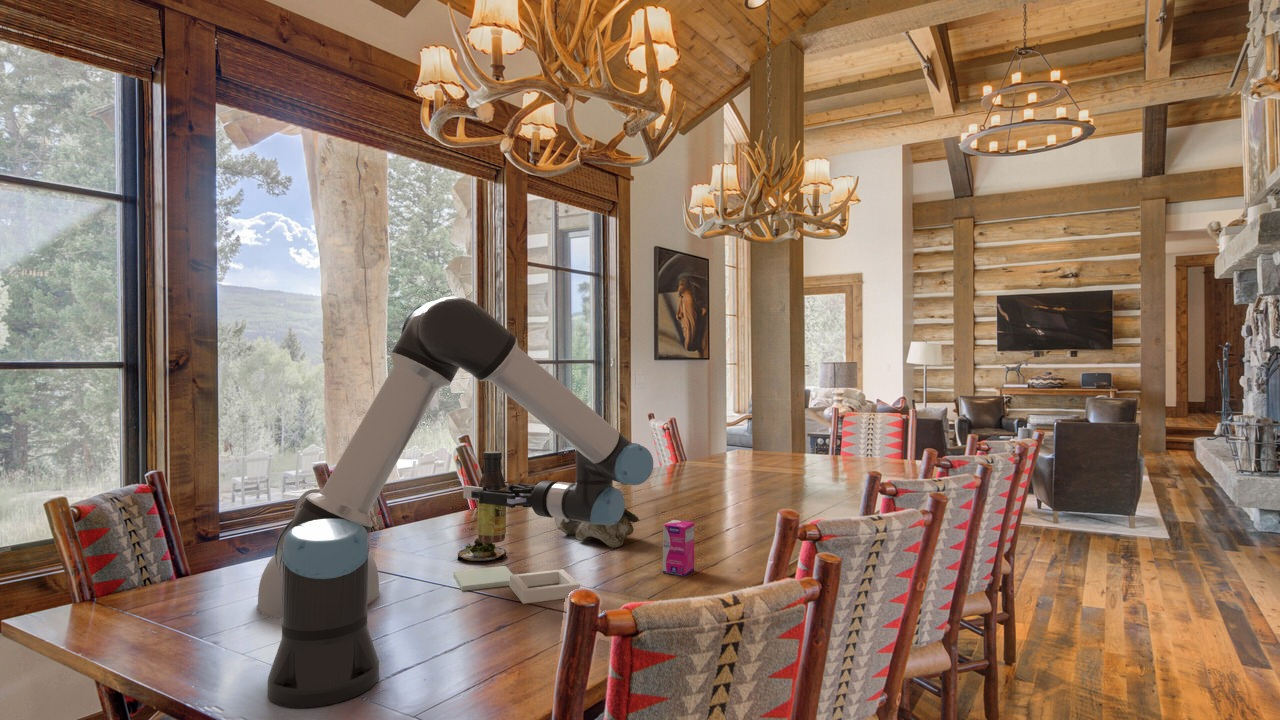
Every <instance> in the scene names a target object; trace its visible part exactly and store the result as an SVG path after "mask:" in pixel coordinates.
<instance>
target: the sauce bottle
mask: <svg viewBox="0 0 1280 720" xmlns="http://www.w3.org/2000/svg"><path fill="white" fill-rule="evenodd" d="M482 456H483V457H482V458H483V460H484V461H483V474H482V476H481V477H480V478H479V482H478V487H482V488H483V486H487V490H506V485H505V484H506V482H505V479H504V475H503V474H502V467H501V465H502V464H501V463H502V457H503V455H502V451H499V450H498V451H497V450H496V451H495V450H494V451H484V452H483V454H482ZM506 533H507V506H500V505H491V504H480V503H479V500H477V536H478V541H479V542H481V543H492V544H496V543H501V542H504V541H505V538H506Z"/></svg>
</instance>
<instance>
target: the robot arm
mask: <svg viewBox="0 0 1280 720" xmlns="http://www.w3.org/2000/svg"><path fill="white" fill-rule="evenodd" d="M518 344H519V343H518V338H517V337H516V335H514V334H513V333H512V332H511V331H509V330H508V329H507V328H506V327H505V326H504V325H502V323H501V322H499V321H498V320H497V319H496V318H494V317H493V316H492V315H491V314H490V313H488V312H487V311H486V310H485V309H484V308H483V307H481V306H480V305H478V304H477V303H476V302H473V301H471V300H469V299H468V298H464V297H459V296H446V297H445V296H444V297H442V298H439V299H437V300H434V301H433V300H432V301H428V302H425V303H423V304H421V305H418V306H417V307H416V308H414V309H413V310H412V311H411V312H410V313H409V314H408V316H407V317H406V318H405V321H404V322H403V325H402V327H401V335H400V337H399V338H398V340H397V342H396V343H395V345H394V348H393V349H392V351H391V353H390V358H391V361H392V367H391V368H392V369H391V370H390V373H389V374H388V375H387V377H386V379H385V380H384V382H383V384H382V386H381V387H380V389H379V391H378V392H377V395H375V398H374V399H373V401H372V403H371V405H370V406H369V409H368V410H367V412H366V413H365V415H364V417H363V418H362V420H361V422H360V423H359V426H357V429H356V430H355V432H354V433H353V436H352V437H351V440H350V441H349V443H348V444H347V446H346V447H345V450H344V451H343V453H342V455H341V456H340V458H339V460H338V461H337V464H336V465H335V466H334V468H333V470H332V472H331V474H330V475H329V477H328V479H327V481H326V483H325V484H324V486H323V487H322V488H321V489H322V490H321V491H320V492H318V493H311V494H309V495H307V496H306V497H305V499H304V500H303V502H302V504H301V505H300V509H299V512H298V513H297V515H296V517H295V518H294V517H293V519H292V520H290V521H289V522H288V523H287V524H286V525H285V526H284V528H282V530H281V532H280V533H279V535H278V537H277V540H276V544H275V549H274V550H275V551H274V555H275V558H276V564H277V566H278V570H279V572H280V575H281V579H282V618H281V619H282V620H281V640H280V643H279V645H278V649H277V651H276V654H275V657H274V660H273V662H272V664H271V669H270V671H269V675H268V678H267V697H268V699H269V700H270V701H271V702H272V703H274V704H276V705H279V706H282V707H285V708H286V707H287V708H316V707H322V706H328V705H334V704H337V703H341V702H343V701H347V700H350V699H352V698H355V697H357V696H360V695H361V694H363V693H365V692H367V691H369V690H370V689H371V688H373V687H374V686H375V685H376V683H377V682H378V680H379V678H380V661H379V656H378V655H377V651H376V649H375V645H374V643H373V640H372V637H371V633H370V631H369V628H368V627H369V626H368V604H367V595H368V555H369V552H370V543H369V538H368V537H369V536H368V534H369V533H370V531H371V529H372V526H373V521H372V519H371V518H372V517H371V514H370V513H371V510H372V508H373V506H374V505H375V503H376V500H377V499H378V497H379V496H380V493H381V492H382V490H383V488H384V486H385V484H386V483H387V481H388V479H389V477H390V476H391V474H392V472H393V470H394V469H395V467H396V465H397V463H398V461H399V459H400V457H401V456H402V454H403V452H404V451H405V449H406V447H407V445H408V443H409V442H410V440H411V438H412V436H413V434H414V432H415V431H416V429H417V427H418V426H419V423H420V422H421V420H422V419H423V416H424V414H425V413H426V411H427V409H428V407H429V406H430V403H431V402H432V400H433V398H434V397H435V394H436V393H437V391H438V390H439V389H441V388H445V387H448V386H450V385H451V383H452V381H453V379H454V378H455V376H456V374H457V373H458V371H459V369H460V368H461V369H462V370H464V371H466V372H467V373H469V374H470V375H472V376H473V377H474V378H476V380H478V381H479V382H487V381H488V382H490V383H492V384H493V385H494V386H496V387H497V388H498V389H499V390H501V391H502V392H503V393H504V394H506V395H507V396H508V397H509V398H511V400H513V401H514V402H516V404H518V406H521V407H522V408H523V409H524V410H525V411H527V412H529V414H530V415H532V416H533V417H534V418H536V419H537V420H538V421H540V423H542V424H543V425H545V426H546V427H547V428H549V430H551V431H552V432H554V433H555V434H556V435H557V436H558V437H560V438H561V439H563V441H564V442H566V443H567V444H568V445H570V446H571V447H573V448H574V450H575V483H574V482H567V481H566V482H565V481H556V480H555V481H554V480H553V481H552V480H545V479H544V480H541V481H539V482H538V483H537V484H530V483H522V482H519V483H517V484H516V483H510V484H509V483H505V485H506V490H487V486H483V488H482V487H479V486H473V485H463V486H462V487H463V490H462V491H463V494H462V495H463V499H467V500H473V501H474V500H476V501H478V500H479V503H480V504H491V505H500V506H506V508H511V509H515V508H516V506H517V507H523V508H532V511H533V512H534V513H535V514H536V515H537V516H539V517H544V518H551V519H552V518H554V519H555V518H559V519H565V522H569V520H574V521H580V522H586V523H592V524H594V525H596V524H600V525H614V524H616V523H617V522H618V521H619V520H620V519H621V517H622V515H623V512H624V508H625V505H626V500H625V498H624V493H623V492H622V490H620V489H619V488H617V487H614V486H613V482H617V483H619V484H622V485H623V486H628V485H629V486H639V485H641V484H644V483H645V482H647V481H648V480H649V478H650V477H651V475H652V473H653V469H654V458H653V455H652V453H651V452H650V450H649V449H648V448H647V447H645V446H643V445H641V444H639V443H636V442H632V441H630V439H628V438H627V437H626V436H625V435H624V434H622V433H621V432H619V431H618V430H617V429H616V428H614V427H613V425H611V424H610V423H609V422H607V421H606V420H605V419H604V418H603V417H602V416H601V415H599V414H598V413H597V412H596V411H595V410H593V409H592V408H591V407H590V406H589V405H587V404H586V403H585V402H584V401H583V400H582V399H580V398H579V397H578V396H577V395H576V394H574V393H573V392H572V391H571V390H569V388H567V387H566V386H565V385H564V384H563V383H561V382H560V381H559V380H558V379H557V378H556V377H555V376H553V375H552V374H551V373H550V372H548V371H547V370H546V369H545V368H544V367H542V365H540V364H539V363H538V362H537V361H535V360H534V359H533V358H532V357H531V356H530V355H529V354H528V353H526V352H525V351H523V350H522V348H520V347H519V345H518ZM625 509H626V508H625Z"/></svg>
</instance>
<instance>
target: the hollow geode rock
mask: <svg viewBox="0 0 1280 720" xmlns="http://www.w3.org/2000/svg"><path fill="white" fill-rule="evenodd" d="M554 521H555V525H556V528H557V529H558V530H560V531H561V532H563V533H564V534H565V535H566V536H570V535H575V539H577V540H579V541H584V540H588V541H590V540H591V539H592V537H593V538H596V539H598V540H600V541H601V542H603V543H604V544H605V545H606V546H607V547H610V548H618V547H621V546H622V545H623V544H624V540H625V539H627V537H628V536H630V535H632V534H633V533H634V527H633V524H632V523H637V522H640V519H639V517H638V516H637V515H636V514H635V513H633V512H631V511H629V510H628V509H627V508H624V512H623V515H622V517H621V519H620V520H619V521H618V522H617V523H616V524H614V525H600V524H596V525H594V524H592V523H586V522H580V521H574V520H569V522H565V519H559V518H554ZM631 522H632V523H631Z"/></svg>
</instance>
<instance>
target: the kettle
mask: <svg viewBox="0 0 1280 720" xmlns="http://www.w3.org/2000/svg"><path fill="white" fill-rule="evenodd" d="M322 489H323V488H312V489H308V490H306V491H305V492H304V493H303V494H301V495H300V497H299V499H298V500H297V503H296V504H295V508H294V515H293V516H294V517H293V519H294V518H295V517H296V515H297V513H298V512H299V510H300V508H301V506H302V504H303V502H304V500H305V499H306V498H307V496H309V495H312V494H315V493H318V492H320V491H321V490H322ZM379 583H380V580H379V571H378V566H377V563H376V561H375V559H374V556H373V554H372V553H371V552H370V551H369V555H368V595H367V605H369V604H371V603H372V602H375V600H377V598H379V595H380V584H379ZM257 592H258V593H257V606H256V608H257V609H256V610H257V611H258V613H260V614H261V615H263V616H267V617H271V618H277V619H282V579H281V575H280V572H279V570H278V566H277V564H276V558H275V554H274V555H272V557H271V558H270V560H269V561H268V563H267V564H266V566H265V568H264V569H263V571H262V574H261V578H260V580H259V585H258V591H257Z"/></svg>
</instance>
